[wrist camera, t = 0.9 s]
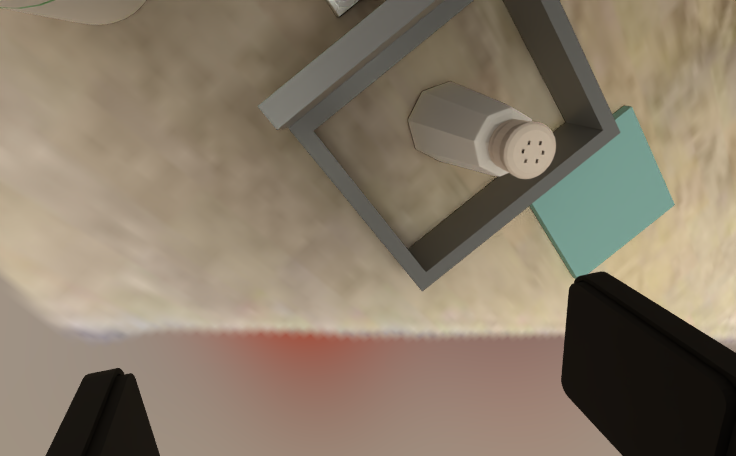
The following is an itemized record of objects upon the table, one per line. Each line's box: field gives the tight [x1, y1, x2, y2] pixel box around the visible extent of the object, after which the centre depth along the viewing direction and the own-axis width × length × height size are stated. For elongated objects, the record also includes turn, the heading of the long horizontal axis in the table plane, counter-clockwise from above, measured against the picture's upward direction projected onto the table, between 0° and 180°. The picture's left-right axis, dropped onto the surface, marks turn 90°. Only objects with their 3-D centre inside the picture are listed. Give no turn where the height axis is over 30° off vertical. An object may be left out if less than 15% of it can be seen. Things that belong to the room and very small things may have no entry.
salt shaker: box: [408, 81, 556, 179], centre depth 28 cm, size 5×5×11 cm
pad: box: [530, 106, 675, 279], centre depth 38 cm, size 10×10×1 cm
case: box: [289, 0, 621, 291], centre depth 31 cm, size 17×14×4 cm
